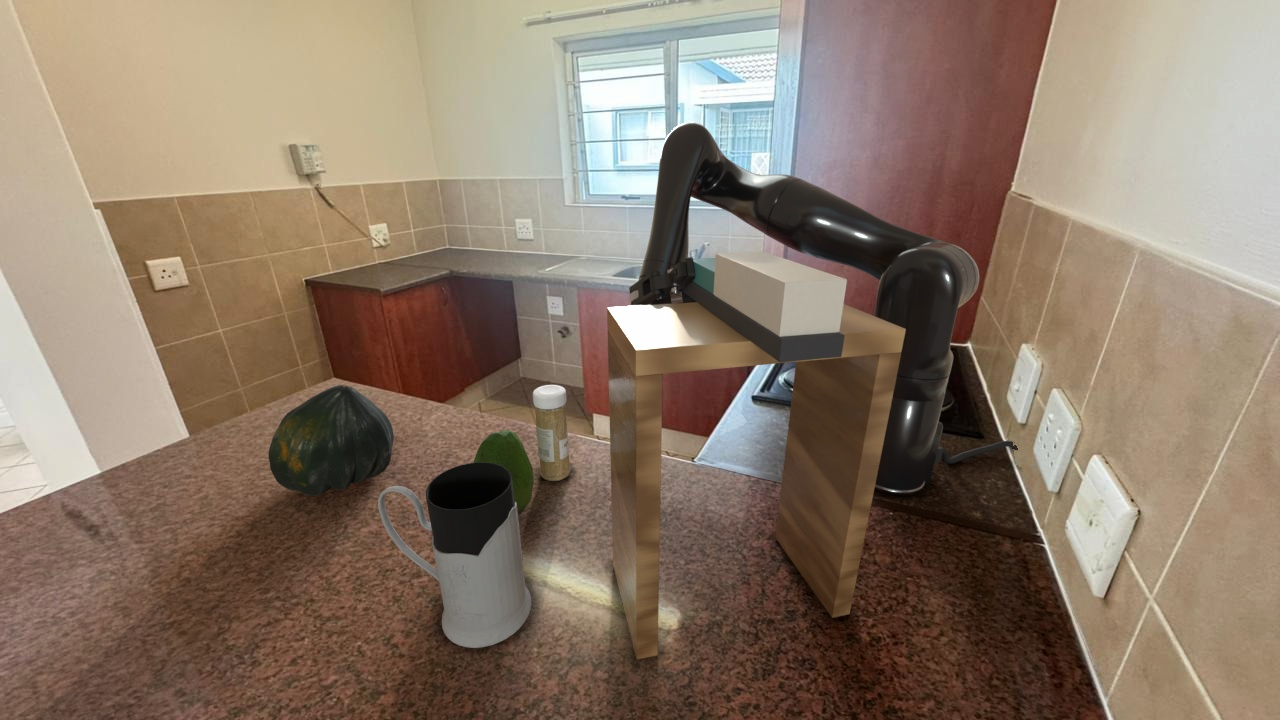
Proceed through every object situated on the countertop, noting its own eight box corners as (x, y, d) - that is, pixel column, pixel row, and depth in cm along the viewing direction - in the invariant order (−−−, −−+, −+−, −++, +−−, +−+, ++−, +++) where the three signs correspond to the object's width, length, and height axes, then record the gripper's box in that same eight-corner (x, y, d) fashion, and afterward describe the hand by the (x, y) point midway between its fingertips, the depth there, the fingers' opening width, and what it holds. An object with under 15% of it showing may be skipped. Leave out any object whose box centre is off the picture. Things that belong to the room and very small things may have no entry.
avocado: (548, 505, 67) (542, 425, 62) (510, 542, 60) (500, 455, 56) (500, 490, 70) (491, 413, 65) (459, 524, 63) (446, 440, 59)
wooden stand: (790, 535, 61) (821, 294, 51) (849, 614, 50) (906, 328, 40) (613, 565, 56) (606, 307, 46) (636, 660, 46) (635, 350, 35)
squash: (233, 456, 68) (264, 390, 61) (334, 413, 81) (369, 356, 74) (301, 534, 67) (340, 477, 60) (392, 479, 80) (432, 427, 73)
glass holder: (510, 654, 46) (493, 520, 41) (372, 631, 48) (338, 502, 43) (543, 582, 54) (533, 463, 49) (423, 565, 56) (401, 449, 51)
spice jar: (576, 475, 73) (571, 391, 68) (547, 486, 71) (540, 399, 66) (562, 461, 77) (557, 381, 72) (534, 470, 74) (527, 388, 69)
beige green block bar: (720, 287, 54) (722, 237, 52) (841, 357, 34) (853, 280, 32) (679, 289, 53) (680, 238, 51) (779, 362, 33) (787, 284, 31)
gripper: (613, 286, 64) (639, 230, 47) (719, 281, 67) (778, 226, 50) (619, 344, 62) (649, 307, 46) (726, 336, 65) (790, 299, 49)
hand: (716, 265), depth 48 cm, fingers closed on beige green block bar, 4 cm apart
